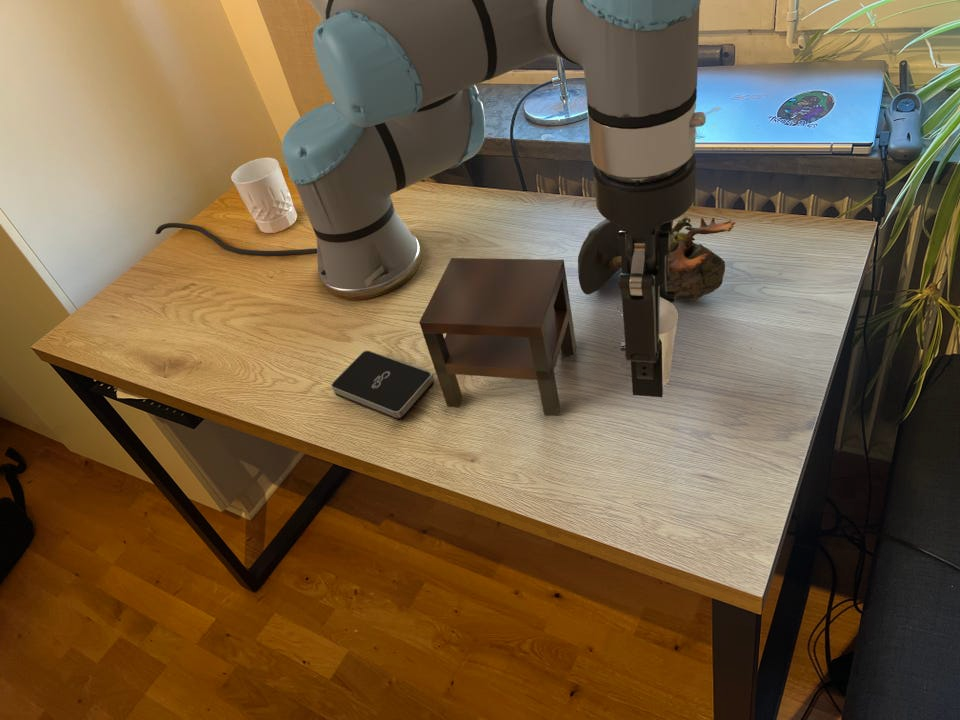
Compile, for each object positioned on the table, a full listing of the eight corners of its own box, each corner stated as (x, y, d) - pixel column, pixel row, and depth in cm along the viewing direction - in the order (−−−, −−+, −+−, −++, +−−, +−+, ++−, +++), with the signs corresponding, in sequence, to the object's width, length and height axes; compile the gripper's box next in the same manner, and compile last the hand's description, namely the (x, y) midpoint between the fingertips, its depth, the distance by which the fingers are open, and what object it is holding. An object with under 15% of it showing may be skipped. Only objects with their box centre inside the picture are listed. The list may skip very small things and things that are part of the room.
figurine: (611, 198, 95) (743, 202, 83) (624, 260, 100) (750, 273, 88) (551, 250, 87) (686, 263, 75) (568, 314, 92) (698, 336, 80)
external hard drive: (370, 360, 91) (365, 349, 89) (438, 385, 85) (434, 373, 84) (334, 397, 87) (328, 386, 86) (403, 425, 81) (398, 414, 80)
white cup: (295, 231, 118) (272, 178, 111) (251, 239, 119) (225, 186, 112) (304, 206, 124) (282, 153, 117) (262, 213, 125) (238, 162, 118)
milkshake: (616, 365, 71) (610, 290, 64) (669, 355, 71) (669, 277, 64) (627, 399, 68) (622, 323, 61) (683, 388, 67) (684, 310, 60)
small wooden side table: (447, 406, 82) (418, 322, 73) (474, 341, 89) (451, 257, 81) (557, 416, 78) (541, 327, 69) (576, 347, 85) (563, 258, 76)
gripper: (685, 225, 46) (682, 448, 62) (704, 101, 57) (697, 317, 73) (571, 224, 49) (597, 440, 65) (610, 105, 60) (624, 314, 76)
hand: (650, 374), depth 69 cm, fingers closed on milkshake, 4 cm apart
